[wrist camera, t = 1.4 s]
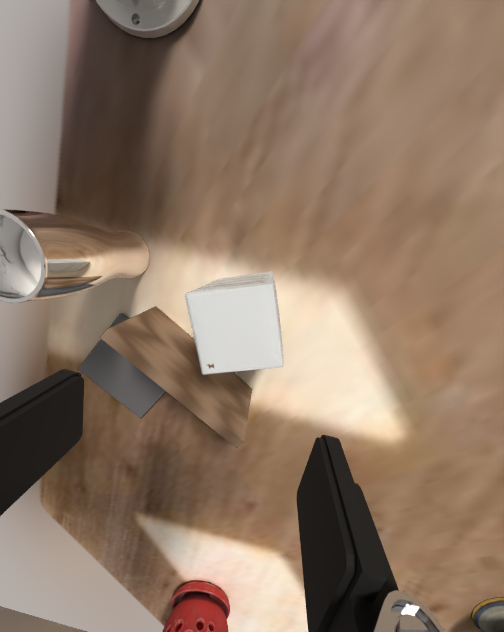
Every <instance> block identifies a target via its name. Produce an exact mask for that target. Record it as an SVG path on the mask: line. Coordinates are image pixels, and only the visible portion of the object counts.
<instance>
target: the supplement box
mask: <svg viewBox="0 0 504 632" xmlns="http://www.w3.org/2000/svg"><path fill="white" fill-rule="evenodd" d="M185 298H186V303H187V307H188V311H189V316H190V321H191V325H192V329H193V335H194V340H195V343H196V348H197V352H198V357H199V361H200V366H201V371H202V374H203V375H206V374H215V373H224V372H235V371H246V370H257V369H267V368H277V367H283V350H282V338H281V327H280V317H279V309H278V301H277V294H276V287H275V281H274V274H273V271H271V272H264V273H257V274H250V275H243V276H236V277H230V278H223V279H218V280H216V281H214V282H211V283H209V284H207V285H205V286H203V287H201V288H198V289H196V290H194V291H191V292H188V293H186V294H185Z"/></svg>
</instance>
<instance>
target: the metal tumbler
mask: <svg viewBox="0 0 504 632" xmlns="http://www.w3.org/2000/svg"><path fill="white" fill-rule="evenodd" d="M148 263H149V251H148V248H147V246H146V244H145V242H144V241H143V239H142V238H141V237H140V236H139V235H137V234H136V233H134V232H132V231H129V230H115V231H105V230H102V229H100V228H97V227H95V226H92V225H89V224H87V223H84V222H81V221H78V220H75V219H72V218H68V217H64V216H59V215H55V214H49V213H41V212H34V211H23V210H8V209H0V300H1V301H4V302H10V303H21V302H25V301H32V300H41V299H49V298H56V297H62V296H67V295H72V294H75V293H79V292H83V291H86V290H88V289H91V288H93V287H96V286H98V285H100V284H102V283H104V282H106V281H108V280H111V279H113V278H116V277H121V278H134V277H137V276H139V275H141V274H142V273H143V272H144V271H145V270H146V268H147V266H148Z"/></svg>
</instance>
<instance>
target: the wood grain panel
mask: <svg viewBox="0 0 504 632" xmlns="http://www.w3.org/2000/svg"><path fill="white" fill-rule="evenodd" d="M101 339H102V340H103V341H105V342H106V343H107V344H108V345H110V346H111V347H112V348H113V349H115V350H116V351H117V352H118V353H120V354H121V355H122V356H123V357H124V358H126V359H127V360H128V361H129V362H131V363H132V364H133V365H134V366H136V367H137V368H138V369H139V370H141V371H142V372H143V373H144V374H145V375H147V376H148V377H149V378H150V379H152V380H153V381H154V382H155V383H157V384H158V385H159V386H160V387H162V388H163V389H164V390H165V391H166V392H168V393H169V394H170V395H171V396H173V397H174V398H175V399H176V400H178V401H179V402H180V403H181V404H183V405H184V406H185V407H186V408H188V409H189V410H190V411H191V412H192V413H194V414H195V415H196V416H197V417H199V418H200V419H201V420H202V421H204V422H205V423H206V424H207V425H209V426H210V427H211V428H212V429H213V430H215V431H216V432H217V433H218V434H220V435H221V436H222V437H223V438H225V439H226V440H227V441H228V442H230V443H231V444H232V445H233V446H234V447H236V448H237V447H238V446H240V445H241V444H242V443H243V442H244V438H245V432H246V425H247V419H248V412H249V406H250V400H251V393H252V388H251V387H249V386H248V385H247V384H246V383H245V382H244V381H242V380H241V379H240V378H239V377H238V376H237V375H235V374H234V373H233V372H224V373H215V374H206V375H203V374H202V371H201V366H200V361H199V357H198V352H197V348H196V343H195V340H194V339H193V338H192V337H191V336H190V335H189V334H188V333H186V332H185V331H184V330H183V329H182V328H181V327H179V326H178V325H177V324H176V323H175V322H174V321H172V320H171V319H170V318H169V317H168V316H167V315H165V314H164V313H163V312H162V311H161V310H160V309H158V308H157V307H156V306H155V307H153V308H151V309H149V310H147V311H145V312H143V313H141V314H139V315H136V316H134V317H132V318H130V319H128V320H126V321H124V322H122V323H119V324H117V325H115V326H113V327H111V328H109V329H107V330H106V331H105V332H104V334H103V335H102V336H101Z"/></svg>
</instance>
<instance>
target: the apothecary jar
mask: <svg viewBox="0 0 504 632" xmlns="http://www.w3.org/2000/svg"><path fill="white" fill-rule="evenodd" d="M472 619H473V622H474V624H475V625H476V626H477V627H478V628H479V629H480V630H481V631H483V632H504V597H501V598H493V599H489V600H486V601H483V602H482V603H480V604H478V605H477V606H476V607H475V609H474V610H473V613H472Z"/></svg>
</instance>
